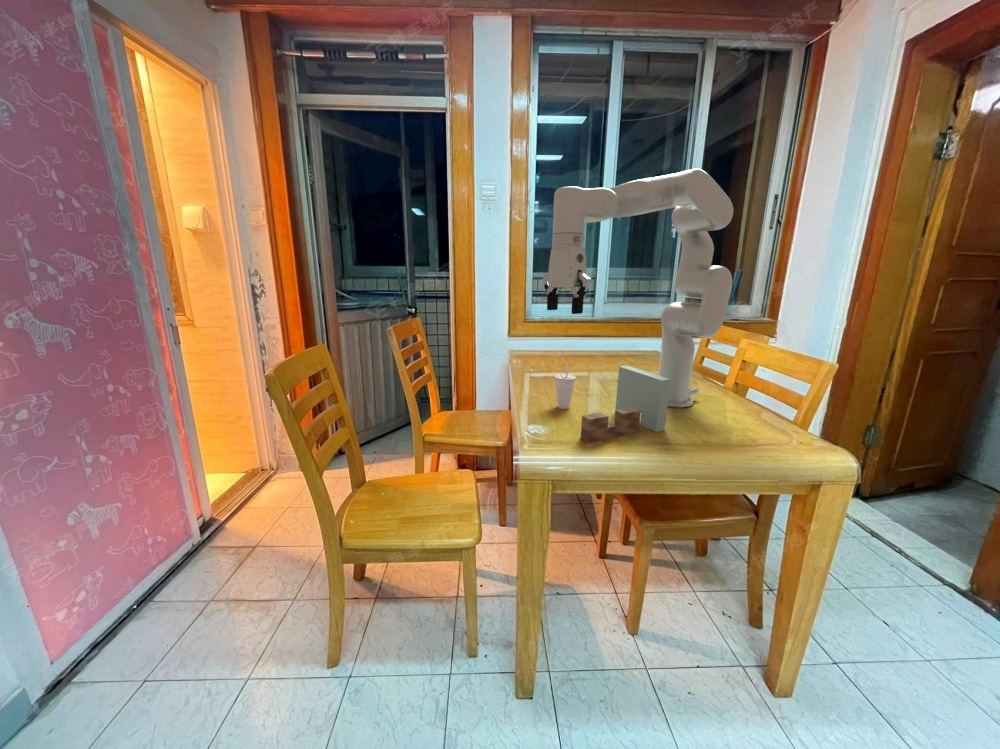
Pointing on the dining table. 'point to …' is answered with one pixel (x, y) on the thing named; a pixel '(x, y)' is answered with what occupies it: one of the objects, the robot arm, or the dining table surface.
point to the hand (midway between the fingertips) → (564, 311)
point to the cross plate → (644, 395)
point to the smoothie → (564, 389)
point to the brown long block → (610, 424)
